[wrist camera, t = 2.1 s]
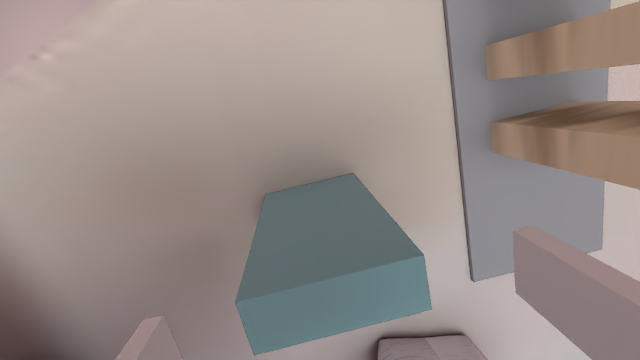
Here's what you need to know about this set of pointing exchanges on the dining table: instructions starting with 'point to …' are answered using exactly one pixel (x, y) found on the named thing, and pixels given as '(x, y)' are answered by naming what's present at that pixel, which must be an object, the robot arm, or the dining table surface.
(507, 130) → the tile
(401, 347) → the juice carton
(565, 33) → the tile
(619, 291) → the robot arm
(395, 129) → the dining table surface
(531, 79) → the mat
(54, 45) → the dining table surface
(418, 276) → the end tile
